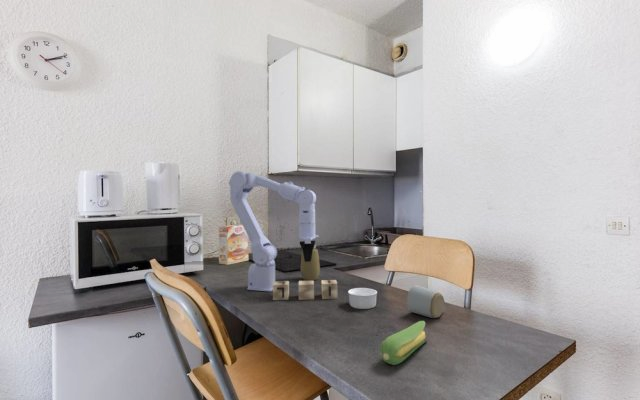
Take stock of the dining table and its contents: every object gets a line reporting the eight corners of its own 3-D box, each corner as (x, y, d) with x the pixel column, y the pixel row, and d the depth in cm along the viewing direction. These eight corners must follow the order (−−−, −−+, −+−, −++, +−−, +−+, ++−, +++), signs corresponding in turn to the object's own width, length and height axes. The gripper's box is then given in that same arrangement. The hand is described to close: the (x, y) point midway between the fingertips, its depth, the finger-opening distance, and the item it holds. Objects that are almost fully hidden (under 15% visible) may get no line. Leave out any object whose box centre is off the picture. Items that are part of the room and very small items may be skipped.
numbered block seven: (272, 300, 109) (272, 284, 109) (274, 295, 114) (274, 280, 114) (288, 300, 109) (288, 284, 109) (289, 295, 114) (288, 280, 114)
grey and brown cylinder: (432, 322, 88) (432, 293, 88) (405, 314, 94) (405, 287, 94) (451, 313, 95) (451, 286, 95) (425, 307, 101) (425, 281, 101)
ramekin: (342, 305, 103) (342, 291, 103) (359, 299, 109) (359, 286, 109) (366, 312, 97) (366, 297, 97) (382, 305, 103) (382, 290, 103)
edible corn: (371, 342, 66) (391, 342, 64) (415, 318, 81) (433, 316, 79) (378, 370, 65) (398, 371, 62) (421, 340, 80) (439, 339, 78)
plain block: (298, 300, 109) (298, 284, 109) (299, 295, 114) (298, 280, 114) (314, 299, 110) (313, 284, 110) (313, 295, 115) (313, 280, 115)
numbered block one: (322, 299, 110) (322, 283, 110) (321, 294, 115) (321, 279, 115) (337, 298, 110) (337, 283, 110) (336, 294, 115) (335, 279, 115)
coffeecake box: (227, 265, 169) (227, 226, 169) (218, 263, 173) (217, 225, 173) (249, 260, 182) (248, 224, 182) (239, 259, 186) (239, 224, 186)
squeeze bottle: (320, 281, 133) (319, 236, 133) (299, 281, 133) (299, 236, 133) (320, 276, 141) (319, 234, 141) (301, 277, 141) (300, 234, 141)
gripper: (319, 224, 113) (319, 264, 113) (317, 221, 128) (318, 257, 128) (298, 225, 113) (298, 265, 113) (299, 222, 127) (299, 257, 128)
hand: (307, 261), depth 120 cm, fingers closed
